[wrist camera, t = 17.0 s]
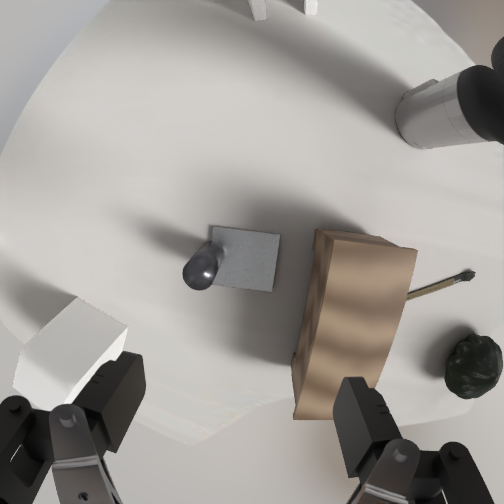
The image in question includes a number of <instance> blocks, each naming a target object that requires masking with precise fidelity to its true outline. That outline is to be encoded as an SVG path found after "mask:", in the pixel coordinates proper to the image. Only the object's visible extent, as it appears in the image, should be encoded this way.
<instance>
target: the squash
mask: <svg viewBox="0 0 504 504" xmlns="http://www.w3.org/2000/svg"><path fill="white" fill-rule="evenodd" d="M502 369H503V360H502V351H501V349H500V347H499V345H497V344H496V343H495V342H494V341H493V340H492V339H491V338H490V337H488V336H479V335H476V334H472V335H470V336H468V337H467V339H466V340H465V342H460V343H459V344H458V345H457V347H456V354H453V355H451V356H450V357H449V358H448V360H447V369H446V371H445V383H446V386H447V387H448V389H449V390H450V391H451V392H453V393H455V394H456V395H457V396H458V397H460V398H463V399H471V398H478V397H480V396H482V395H483V394H485V393H486V392H488V391H489V390H491V389H492V388H493V387H495V385H496V384H497V382H498V380H499V377H500V375H501V372H502Z"/></svg>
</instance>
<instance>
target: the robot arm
mask: <svg viewBox="0 0 504 504" xmlns="http://www.w3.org/2000/svg"><path fill="white" fill-rule="evenodd" d="M491 62H492V67H493V69H494V70H493V69H491V68H489V67H487V66H483V65H476V66H472V67H470V68H467V69H465V70H463V71H461V72H459V73H457V74H454V75H452V76H450V77H448V78H446V79H444V80H442V81H440V82H439V81H437V80H434V79H431V80H429V81H427V82H425V83H423V84H421V85H419V86H418V87H416V88H414V89H412V90H410V91H408V92H407V93H405V94H404V95H403V100H402V101H401V102H400V103H399V105H398V107H397V109H396V116H395V118H396V124H397V128H398V130H399V132H400V134H401V136H402V137H403V138H404V140H405V141H406V142H407V143H408V144H410V145H411V146H413V147H415V148H418V149H431V148H437V147H445V146H453V145H461V144H470V143H480V142H490V141H497V142H499V143H501V144H503V145H504V37H503V38H502V39H500V40H499V41H498V43H497V44H496V45H495V47H494V49H493V51H492V55H491ZM145 390H146V381H145V373H144V365H143V358H142V355H140V354H135V353H131V352H127V351H123V352H122V353H121V354H120V355H119V357H118V358H117V359H116V361H113V360H109V361H107V362H106V363H104V364H102V365H101V366H100V367H99V368H98V369H97V371H96V372H95V374H94V375H93V376H92V377H91V378H90V381H88V382H87V384H86V385H85V386H84V387H83V389H82V390H81V391H80V393H79V394H78V395H77V397H76V398H75V399H74V401H73V402H72V403H71V404H61V405H58V406H56V407H55V408H54V409H53V410H52V411H46V410H40V409H34V408H32V406H31V404H30V402H29V401H28V399H26V398H25V397H23V396H20V395H13V396H9V397H8V398H6V399H5V400H4V401H2V403H1V404H0V504H32V503H33V501H34V499H35V497H36V495H37V493H38V491H39V489H40V487H41V484H42V483H43V480H44V479H45V477H46V475H47V473H48V471H49V469H50V467H51V465H52V473H53V477H54V481H55V486H56V490H57V494H58V497H59V501H60V504H123V503H122V501H121V499H120V497H119V495H118V493H117V490H116V488H115V486H114V483H113V481H112V478H111V476H110V473H109V471H108V468H107V465H106V463H105V460H104V458H103V456H104V454H105V452H106V450H108V451H111V452H114V453H116V452H117V450H118V448H119V446H120V444H121V442H122V440H123V438H124V436H125V434H126V432H127V430H128V428H129V426H130V423H131V421H132V420H133V417H134V415H135V413H136V411H137V409H138V407H139V405H140V403H141V401H142V399H143V397H144V395H145ZM333 419H334V422H335V426H336V430H337V434H338V438H339V442H340V446H341V449H342V454H343V457H344V461H345V465H346V469H347V474H348V478H353V477H359V480H360V483H359V484H358V485H357V487H356V489H355V490H354V492H353V494H352V495H351V497H350V498H349V500H348V501H347V503H346V504H446V502H445V499H444V496H443V494H442V490H443V492H444V494H445V497H446V500H447V502H448V504H494V502H493V499H492V497H491V495H490V493H489V491H488V489H487V486H486V484H485V482H484V480H483V478H482V476H481V474H480V472H479V470H478V468H477V466H476V464H475V462H474V460H473V459H472V456H471V455H470V453H469V451H468V449H467V448H466V447H465V446H464V445H462V444H461V443H458V442H448V443H446V444H444V445H443V446H442V447H441V449H440V450H439V451H422V450H419V448H418V447H417V445H416V444H415V443H413V442H412V441H410V440H407V439H403V438H402V436H401V434H400V432H399V429H398V427H397V425H396V423H395V421H394V419H393V417H392V415H391V413H390V411H389V409H388V407H387V406H386V403H385V401H384V399H383V397H382V395H381V394H380V393H379V392H378V391H376V390H375V389H374V388H369V387H368V385H367V383H366V381H365V379H364V377H362V376H360V377H344V378H343V380H342V383H341V386H340V388H339V391H338V394H337V397H336V399H335V402H334V405H333ZM20 445H21V446H20ZM19 446H20V447H19ZM18 447H19V449H18ZM17 449H18V451H17V452H16V450H17ZM15 452H16V454H15V456H14V457H13V459H12V460H11V458H12V456H13V455H14V453H15ZM10 461H11V462H10ZM53 462H54V463H53Z"/></svg>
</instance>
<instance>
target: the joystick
mask: <svg viewBox="0 0 504 504" xmlns="http://www.w3.org/2000/svg"><path fill="white" fill-rule="evenodd" d="M279 240H280V234H275V233H267V232H259V231H251V230H243V229H234V228H226V227H217V226H214V227H213V233H212V242H208V243H205V244H204V245H203V246H202V247H201V248H200V249H199V250H198V251H197V252H196V253H195V254H194V256H193V257H192V258H191V259H190V260H189V261H188V262H187V264H186V265H185V266H184V268H183V279H184V281H185V283H186V284H187V285H188V286H189V287H190V288H192V289H195V290H204V289H207V288H208V287H210V286H211V285H220V286H227V287H235V288H243V289H252V290H260V291H269V292H272V288H273V281H274V275H275V268H276V261H277V254H278V247H279Z"/></svg>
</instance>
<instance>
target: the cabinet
mask: <svg viewBox="0 0 504 504" xmlns="http://www.w3.org/2000/svg"><path fill="white" fill-rule="evenodd" d="M313 250H314V251H315V255H314V261H313V267H312V273H311V279H310V285H309V291H308V296H307V302H306V307H305V312H304V318H303V323H302V328H301V333H300V338H299V342H298V347H297V352H296V353H294V354H293V359H292V363H291V370H292V374H291V375H292V382H293V389H294V396H295V403H296V406H295V410H294V413H293V419H294V420H334V419H333V405H334V402H335V399H336V397H337V394H338V391H339V388H340V386H341V383H342V380H343V378H344V377H360V376H362V377H364V379H365V381H366V383H367V385H368V387H369V388H374V389H375V387H376V384H377V382H378V380H379V377H380V375H381V372H382V370H383V367H384V365H385V362H386V359H387V357H388V354H389V351H390V348H391V346H392V343H393V340H394V337H395V334H396V331H397V328H398V325H399V322H400V318H401V315H402V312H403V308H404V305H405V301H406V298H407V294H408V290H409V287H410V283H411V279H412V275H413V270H414V266H415V262H416V257H417V252H418V250H415V249H412V248H405V247H399V246H397V245H395V244H393V243H391V242H389V241H387V240H385V239H384V238H382V237H379V236H372V235H365V234H358V233H350V232H343V231H335V230H327V229H319V228H318V230H315V236H314V243H313Z"/></svg>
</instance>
